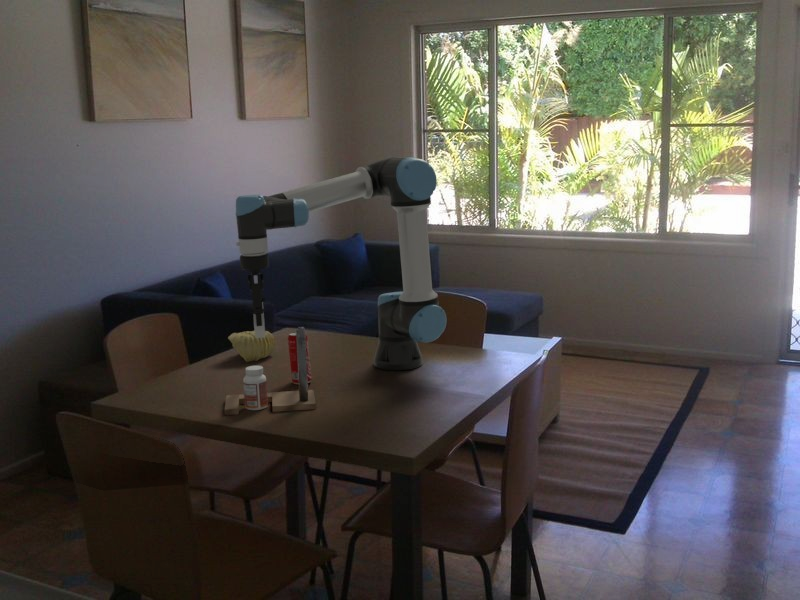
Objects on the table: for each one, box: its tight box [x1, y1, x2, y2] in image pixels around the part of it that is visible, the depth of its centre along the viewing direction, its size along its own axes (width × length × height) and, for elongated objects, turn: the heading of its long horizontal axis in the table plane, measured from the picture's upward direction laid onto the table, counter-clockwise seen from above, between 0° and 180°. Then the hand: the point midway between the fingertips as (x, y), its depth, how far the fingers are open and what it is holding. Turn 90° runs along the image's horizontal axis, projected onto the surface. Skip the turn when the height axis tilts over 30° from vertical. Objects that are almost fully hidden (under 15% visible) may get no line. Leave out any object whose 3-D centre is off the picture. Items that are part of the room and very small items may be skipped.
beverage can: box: [287, 331, 313, 385], centre depth 264 cm, size 6×6×15 cm
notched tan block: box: [224, 389, 317, 416], centre depth 244 cm, size 24×13×2 cm, turn 98°
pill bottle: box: [242, 365, 269, 411], centre depth 242 cm, size 6×6×11 cm
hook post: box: [295, 326, 309, 402], centre depth 238 cm, size 2×8×23 cm, turn 8°
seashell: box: [227, 330, 276, 363], centre depth 294 cm, size 17×11×15 cm
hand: (260, 331), depth 242 cm, fingers open, 13 cm apart
